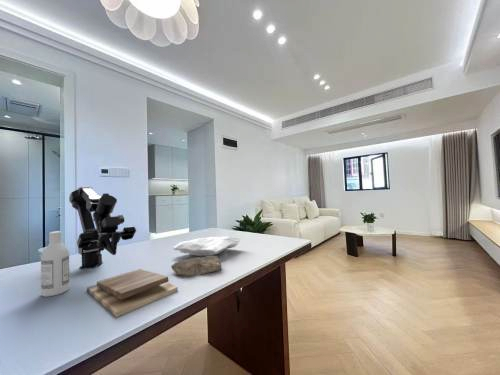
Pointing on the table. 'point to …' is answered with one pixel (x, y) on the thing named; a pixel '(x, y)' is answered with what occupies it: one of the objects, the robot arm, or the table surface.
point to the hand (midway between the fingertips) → (114, 254)
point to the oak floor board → (130, 298)
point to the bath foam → (54, 267)
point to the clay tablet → (197, 266)
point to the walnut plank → (131, 283)
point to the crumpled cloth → (207, 245)
